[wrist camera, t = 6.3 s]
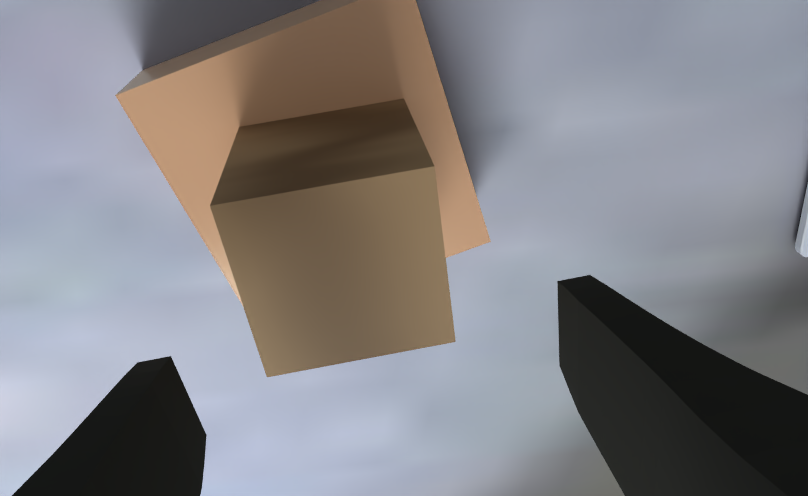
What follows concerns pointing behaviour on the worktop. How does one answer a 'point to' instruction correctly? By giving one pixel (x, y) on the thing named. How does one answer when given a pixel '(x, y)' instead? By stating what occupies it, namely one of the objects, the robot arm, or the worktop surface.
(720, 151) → the worktop surface
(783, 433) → the robot arm
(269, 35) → the peach slab
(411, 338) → the walnut block
